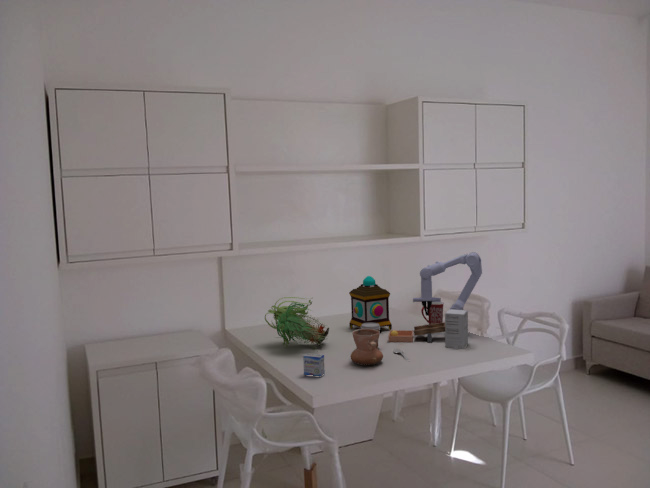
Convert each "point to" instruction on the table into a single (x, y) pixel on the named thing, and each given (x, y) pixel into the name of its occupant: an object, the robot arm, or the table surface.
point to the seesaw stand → (429, 337)
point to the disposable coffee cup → (371, 327)
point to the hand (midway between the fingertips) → (427, 315)
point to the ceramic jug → (366, 347)
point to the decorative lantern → (370, 304)
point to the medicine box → (313, 364)
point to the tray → (401, 336)
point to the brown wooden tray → (429, 329)
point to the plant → (296, 323)
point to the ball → (394, 333)
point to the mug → (434, 313)
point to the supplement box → (456, 328)
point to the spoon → (401, 353)
